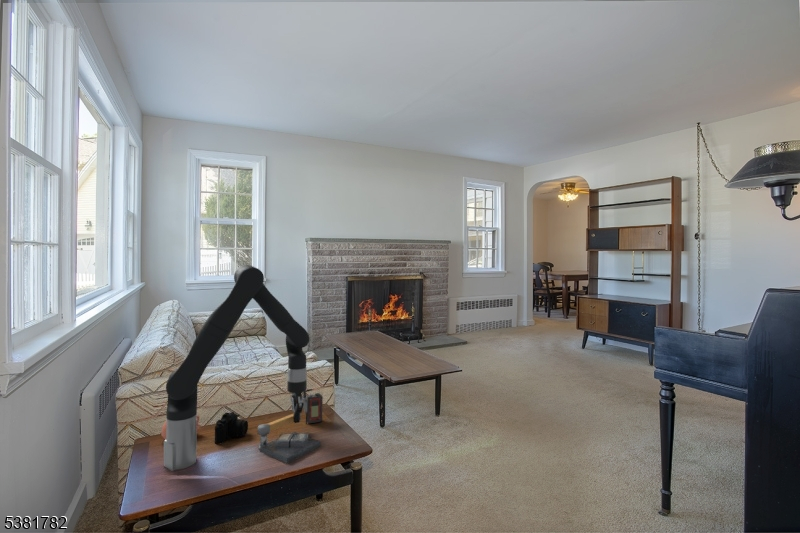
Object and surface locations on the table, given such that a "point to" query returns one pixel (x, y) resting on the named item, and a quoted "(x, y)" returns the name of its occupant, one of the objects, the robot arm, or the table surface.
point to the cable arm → (275, 424)
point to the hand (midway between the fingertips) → (296, 422)
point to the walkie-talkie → (313, 407)
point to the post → (262, 440)
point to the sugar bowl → (166, 428)
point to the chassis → (290, 446)
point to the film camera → (229, 427)
